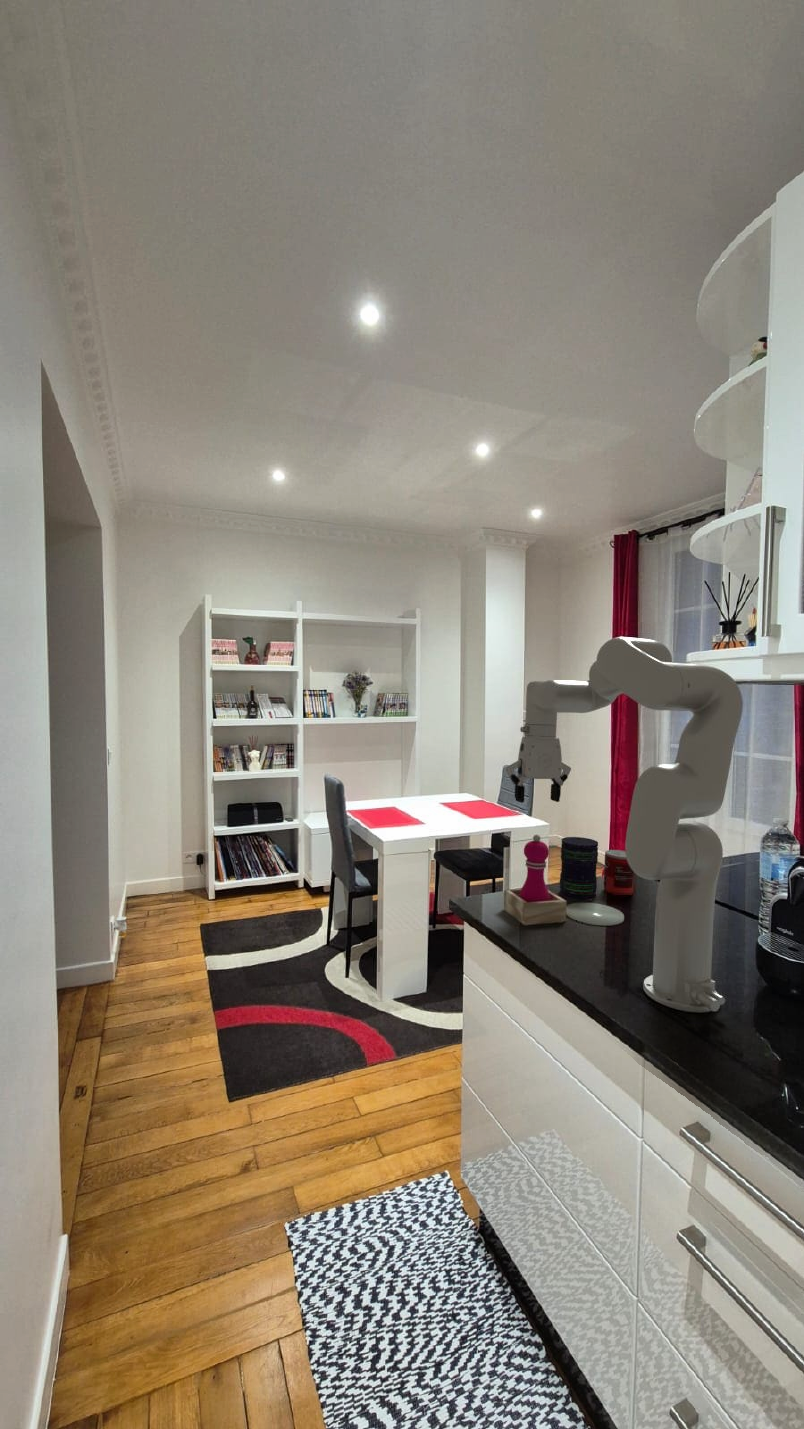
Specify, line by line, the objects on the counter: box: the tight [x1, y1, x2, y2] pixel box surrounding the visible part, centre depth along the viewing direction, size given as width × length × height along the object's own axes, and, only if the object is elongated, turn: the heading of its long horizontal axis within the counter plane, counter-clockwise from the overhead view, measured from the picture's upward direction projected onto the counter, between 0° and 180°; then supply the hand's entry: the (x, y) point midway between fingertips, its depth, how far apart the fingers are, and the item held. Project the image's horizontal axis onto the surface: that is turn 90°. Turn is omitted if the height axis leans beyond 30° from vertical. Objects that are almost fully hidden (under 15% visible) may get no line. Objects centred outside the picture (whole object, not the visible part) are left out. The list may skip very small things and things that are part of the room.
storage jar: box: [559, 836, 599, 901], centre depth 166 cm, size 10×10×15 cm
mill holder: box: [503, 888, 567, 926], centre depth 149 cm, size 11×11×5 cm
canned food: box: [603, 849, 635, 896], centre depth 170 cm, size 8×8×11 cm
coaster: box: [566, 902, 625, 927], centre depth 151 cm, size 14×14×1 cm
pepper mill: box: [520, 834, 550, 902], centre depth 149 cm, size 7×7×20 cm
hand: (537, 801), depth 149 cm, fingers open, 9 cm apart
